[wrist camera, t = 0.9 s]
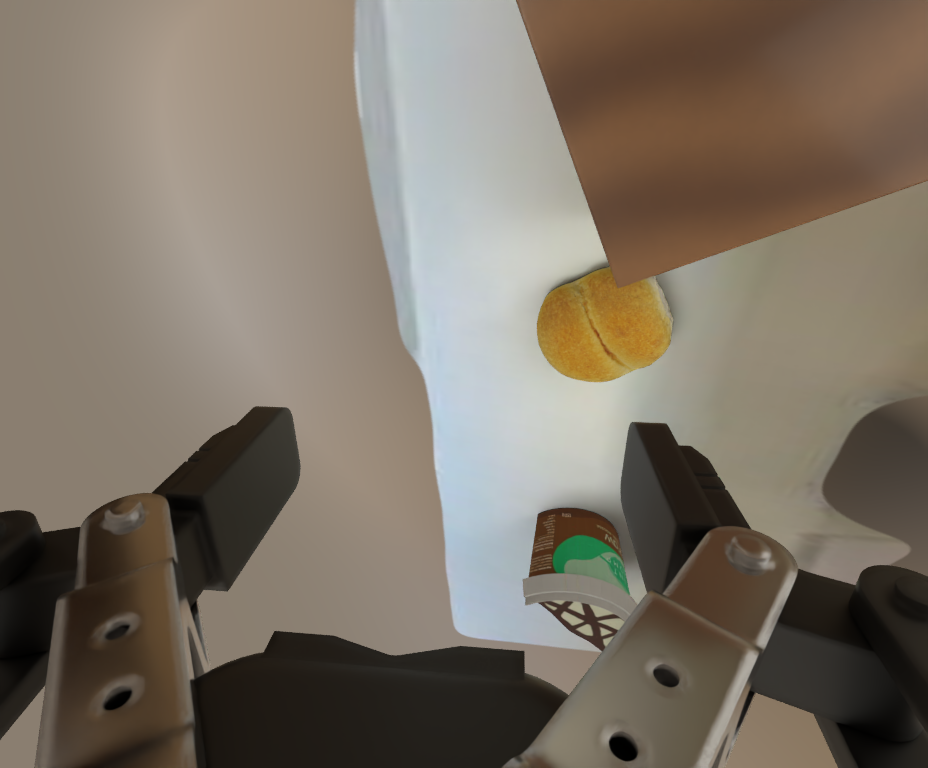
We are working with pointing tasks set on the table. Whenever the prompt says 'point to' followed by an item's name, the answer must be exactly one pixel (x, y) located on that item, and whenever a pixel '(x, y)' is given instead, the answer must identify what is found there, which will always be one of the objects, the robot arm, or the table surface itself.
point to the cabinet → (731, 115)
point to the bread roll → (604, 326)
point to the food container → (579, 574)
